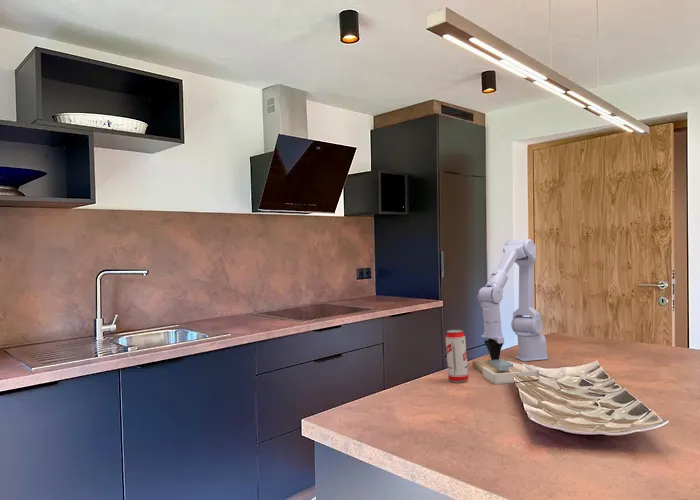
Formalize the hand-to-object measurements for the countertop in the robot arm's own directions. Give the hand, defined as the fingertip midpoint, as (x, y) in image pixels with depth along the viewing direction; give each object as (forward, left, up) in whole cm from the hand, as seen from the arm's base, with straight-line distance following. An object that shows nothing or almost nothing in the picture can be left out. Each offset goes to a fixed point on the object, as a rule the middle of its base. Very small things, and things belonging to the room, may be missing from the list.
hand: (495, 361), depth 168 cm
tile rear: (0, +3, -1) cm, 3 cm away
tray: (0, +13, -3) cm, 13 cm away
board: (0, 0, -3) cm, 3 cm away
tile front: (0, +8, -1) cm, 8 cm away
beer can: (+16, +10, -3) cm, 19 cm away
